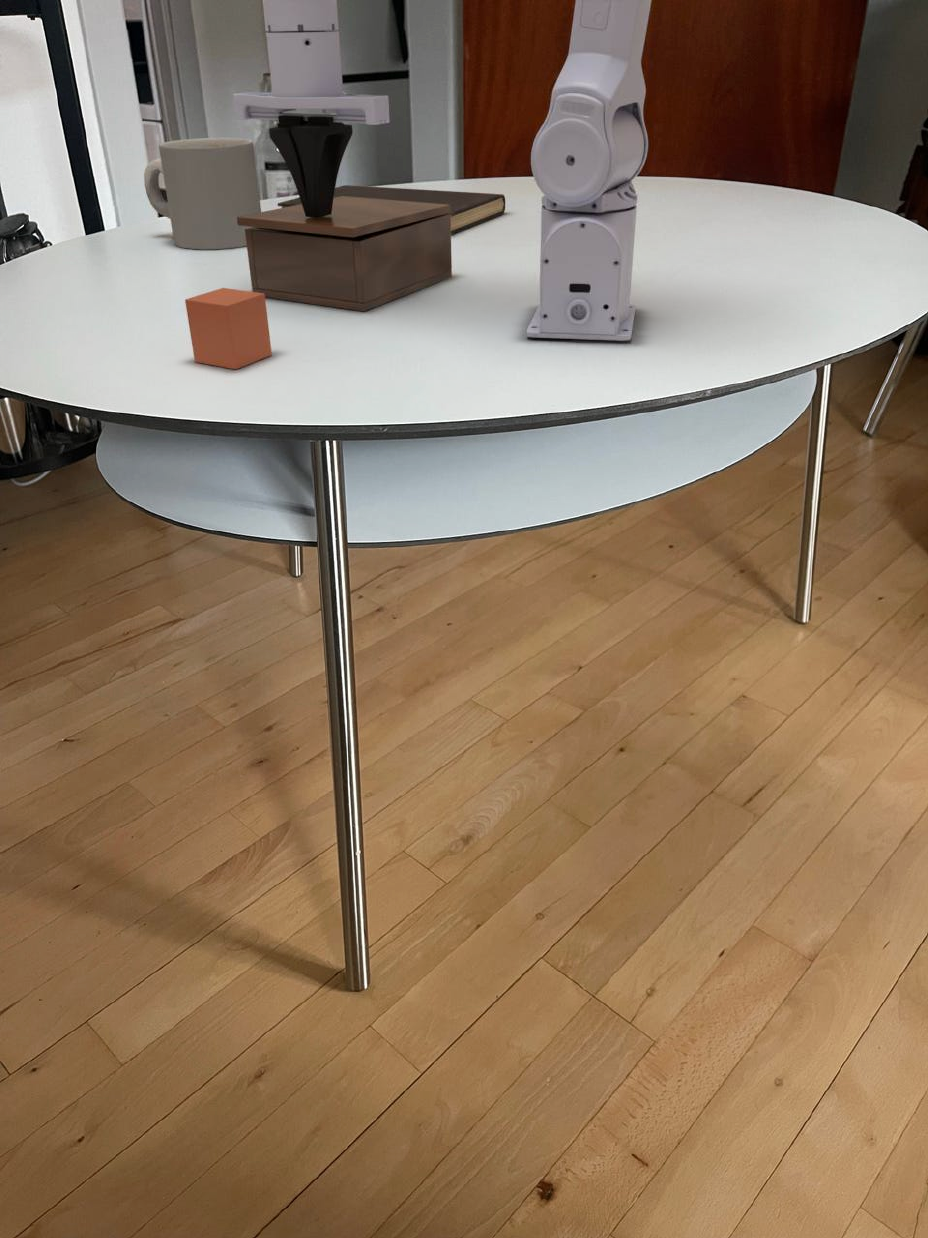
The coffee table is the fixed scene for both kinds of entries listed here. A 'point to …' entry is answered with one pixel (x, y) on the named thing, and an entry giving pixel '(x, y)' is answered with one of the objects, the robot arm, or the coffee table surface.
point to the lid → (346, 216)
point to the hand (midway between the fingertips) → (318, 215)
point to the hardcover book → (463, 205)
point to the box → (350, 263)
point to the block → (229, 327)
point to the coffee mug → (205, 190)
